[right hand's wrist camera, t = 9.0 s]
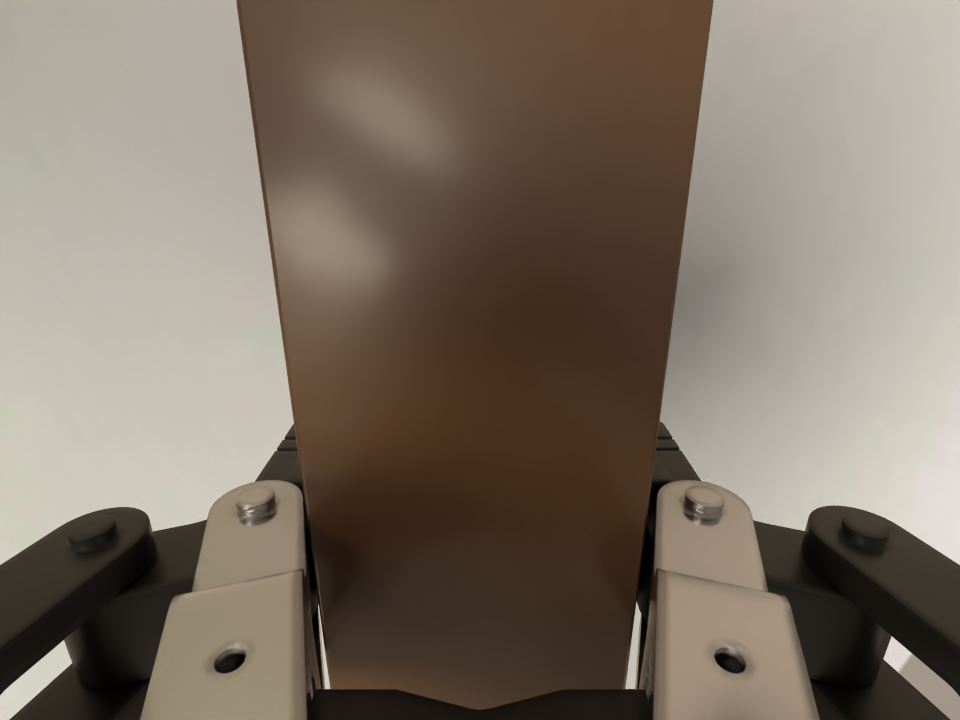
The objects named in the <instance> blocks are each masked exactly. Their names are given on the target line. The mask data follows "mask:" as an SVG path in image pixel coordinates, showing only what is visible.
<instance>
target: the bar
mask: <svg viewBox="0 0 960 720" xmlns="http://www.w3.org/2000/svg"><path fill="white" fill-rule="evenodd" d="M712 8H713V0H237V10H238V17H239V24H240V32H241V39H242V46H243V54H244V61H245V68H246V75H247V83H248V90H249V97H250V105H251V112H252V119H253V127H254V134H255V141H256V149H257V156H258V163H259V170H260V178H261V185H262V192H263V200H264V207H265V214H266V222H267V229H268V236H269V244H270V251H271V258H272V265H273V273H274V280H275V287H276V295H277V302H278V309H279V317H280V324H281V331H282V338H283V346H284V353H285V360H286V368H287V375H288V382H289V390H290V397H291V404H292V412H293V419H294V426H295V433H296V441H297V448H298V455H299V463H300V470H301V477H302V485H303V492H304V499H305V507H306V514H307V521H308V528H309V536H310V543H311V550H312V558H313V565H314V572H315V580H316V587H317V594H318V602H319V609H320V616H321V623H322V631H323V638H324V645H325V653H326V660H327V667H328V675H329V682H330V689H397V690H401V691H405V692H408V693H412V694H416V695H420V696H424V697H428V698H432V699H436V700H440V701H443V702H447V703H451V704H455V705H459V706H463V707H467V708H471V709H477V710H483V709H489V708H493V707H497V706H501V705H505V704H509V703H513V702H517V701H520V700H524V699H528V698H532V697H536V696H540V695H544V694H548V693H552V692H555V691H559V690H563V689H625V685H626V677H627V670H628V662H629V654H630V646H631V639H632V631H633V623H634V615H635V607H636V600H637V592H638V584H639V576H640V568H641V561H642V553H643V545H644V537H645V530H646V522H647V514H648V506H649V498H650V491H651V483H652V475H653V467H654V459H655V452H656V444H657V436H658V428H659V421H660V413H661V405H662V397H663V389H664V382H665V374H666V366H667V358H668V350H669V343H670V335H671V327H672V319H673V312H674V304H675V296H676V288H677V280H678V273H679V265H680V257H681V249H682V241H683V234H684V226H685V218H686V210H687V203H688V195H689V187H690V179H691V171H692V164H693V156H694V148H695V140H696V132H697V125H698V117H699V109H700V101H701V94H702V86H703V78H704V70H705V62H706V55H707V47H708V39H709V31H710V23H711V16H712Z"/></svg>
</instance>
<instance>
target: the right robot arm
mask: <svg viewBox="0 0 960 720" xmlns="http://www.w3.org/2000/svg"><path fill="white" fill-rule="evenodd" d="M637 603H638V606H639V609H640V612H641V618H640V625H639V638H638V653H637V667H636V682H635V689H563V690H559V691H555V692H552V693H548V694H544V695H540V696H536V697H532V698H528V699H524V700H520V701H517V702H513V703H509V704H505V705H501V706H497V707H493V708H489V709H483V710H477V709H471V708H467V707H463V706H459V705H455V704H451V703H447V702H443V701H440V700H436V699H432V698H428V697H424V696H420V695H416V694H412V693H408V692H405V691H401V690H397V689H325V682H324V667H323V653H322V638H321V625H320V618H319V611H318V604H319V602H318V594H317V587H316V580H315V572H314V565H313V558H312V550H311V543H310V536H309V528H308V521H307V514H306V507H305V499H304V492H303V485H302V477H301V470H300V463H299V455H298V448H297V441H296V433H295V426H294V424H293V426H292V427H291V429H290V430H289V432H288V433H287V435H286V436H285V440H283V441H282V442H281V444H280V445H279V447H278V448H277V451H275V453H274V454H273V456H272V457H271V459H270V460H269V461H268V463H267V464H266V466H265V467H264V469H263V470H262V472H261V473H260V475H259V476H258V478H257V479H256V481H255V482H253V483H249V484H245V485H242V486H240V487H237V488H235V489H233V490H231V491H229V492H227V493H226V494H224V495H223V496H222V497H220V498H219V499H218V500H217V501H216V502H215V503H214V504H213V505H212V507H211V509H210V511H209V514H208V519H207V520H204V521H201V522H197V523H193V524H189V525H184V526H179V527H174V528H169V529H164V530H159V531H154V532H153V531H152V528H151V524H150V520H149V517H148V515H147V514H146V513H145V512H143V511H141V510H139V509H136V508H130V507H117V508H109V509H103V510H99V511H95V512H92V513H89V514H86V515H83V516H81V517H78V518H76V519H74V520H71V521H69V522H67V523H66V524H64V525H62V526H60V527H59V528H57V529H56V530H54V531H52V532H51V533H49V534H48V535H46V536H45V537H43V538H42V539H40V540H39V541H37V542H35V543H34V544H32V545H31V546H29V547H28V548H26V549H25V550H23V551H22V552H20V553H18V554H17V555H15V556H14V557H12V558H11V559H9V560H8V561H6V562H5V563H3V564H1V565H0V695H1V694H2V693H3V691H4V690H5V689H6V688H8V687H9V686H10V685H11V684H12V683H13V682H14V681H16V680H17V679H18V678H19V677H20V676H21V675H23V674H24V673H25V672H26V671H27V670H29V669H30V668H31V667H32V666H33V665H34V664H36V663H37V662H38V661H39V660H40V659H42V658H43V657H44V656H45V655H46V654H47V653H49V652H50V651H51V650H52V649H53V648H55V647H56V646H57V645H58V644H59V643H60V642H62V641H63V640H64V641H65V644H66V647H67V649H68V652H69V655H70V658H71V660H72V664H71V665H70V666H69V667H68V668H67V669H65V670H64V671H63V672H62V673H61V674H60V675H59V676H58V677H57V678H55V679H54V680H53V681H52V682H51V683H50V684H49V685H48V686H47V687H45V688H44V689H43V690H42V691H41V692H40V693H39V694H38V695H37V696H35V697H34V698H33V699H32V700H31V701H30V702H29V703H28V704H27V705H25V706H24V707H23V708H22V709H21V710H20V711H19V712H18V713H17V714H15V715H14V716H13V717H12V718H11V719H10V720H950V719H949V718H948V717H947V716H946V715H945V714H943V713H942V712H941V711H940V710H939V709H938V708H937V707H936V706H935V705H933V704H932V703H931V702H930V701H929V700H928V699H927V698H926V697H925V696H923V695H922V694H921V693H920V692H919V691H918V690H917V689H916V688H915V687H913V686H912V685H911V684H910V683H909V682H908V681H907V680H906V679H905V678H903V677H902V676H901V675H900V674H899V673H898V672H897V671H896V670H895V669H893V668H892V667H891V666H890V665H889V664H888V663H887V662H886V661H885V660H883V658H884V655H885V652H886V650H887V647H888V644H889V641H890V639H891V636H892V637H894V638H895V639H896V640H897V641H898V642H899V643H901V644H902V645H903V646H904V647H905V648H907V649H908V650H909V651H910V652H911V653H912V654H914V655H915V656H916V657H917V658H918V659H920V660H921V661H922V662H923V663H924V664H925V665H927V666H928V667H929V668H930V669H931V670H933V671H934V672H935V673H936V674H937V675H938V676H940V677H941V678H942V679H943V680H944V681H946V682H947V683H948V684H949V685H950V686H951V687H952V688H953V689H954V690H955V691H956V692H957V694H958V695H959V696H960V565H959V564H957V563H955V562H954V561H952V560H951V559H949V558H948V557H946V556H945V555H943V554H942V553H940V552H938V551H937V550H935V549H934V548H932V547H931V546H929V545H928V544H926V543H925V542H923V541H921V540H920V539H918V538H917V537H915V536H914V535H912V534H911V533H909V532H908V531H906V530H904V529H903V528H901V527H900V526H898V525H896V524H895V523H893V522H891V521H889V520H887V519H885V518H883V517H881V516H878V515H876V514H873V513H870V512H867V511H864V510H860V509H856V508H851V507H846V506H825V507H821V508H817V509H816V510H814V511H813V512H812V513H811V514H810V516H809V518H808V522H807V526H806V530H805V531H801V530H796V529H791V528H786V527H781V526H775V525H770V524H765V523H761V522H757V521H754V520H753V519H752V514H751V511H750V509H749V507H748V505H747V504H746V503H745V502H744V501H743V500H742V499H741V498H740V497H739V496H737V495H736V494H734V493H733V492H731V491H729V490H727V489H725V488H723V487H720V486H718V485H715V484H711V483H707V482H703V481H701V480H700V478H699V477H698V475H697V474H696V472H695V471H694V469H693V468H692V466H691V465H690V463H689V462H688V460H687V459H686V457H685V456H684V454H683V453H682V451H679V447H678V445H677V444H676V442H675V441H674V439H672V436H671V435H670V433H669V432H668V430H667V429H666V427H665V426H664V424H663V423H662V422H660V421H659V428H658V436H657V444H656V452H655V459H654V467H653V475H652V483H651V491H650V498H649V506H648V514H647V522H646V530H645V537H644V545H643V553H642V561H641V568H640V576H639V584H638V592H637Z"/></svg>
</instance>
